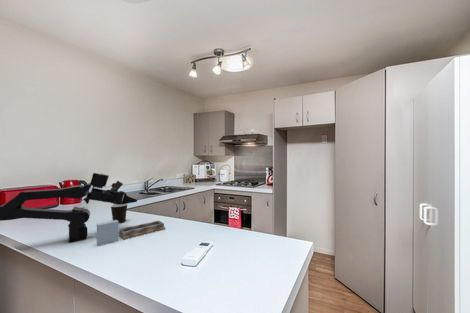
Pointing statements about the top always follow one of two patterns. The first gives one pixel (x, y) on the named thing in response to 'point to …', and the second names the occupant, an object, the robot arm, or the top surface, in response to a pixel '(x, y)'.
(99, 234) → the grey flat block
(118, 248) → the top surface
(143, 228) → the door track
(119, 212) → the coffee mug
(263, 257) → the top surface
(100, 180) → the robot arm
